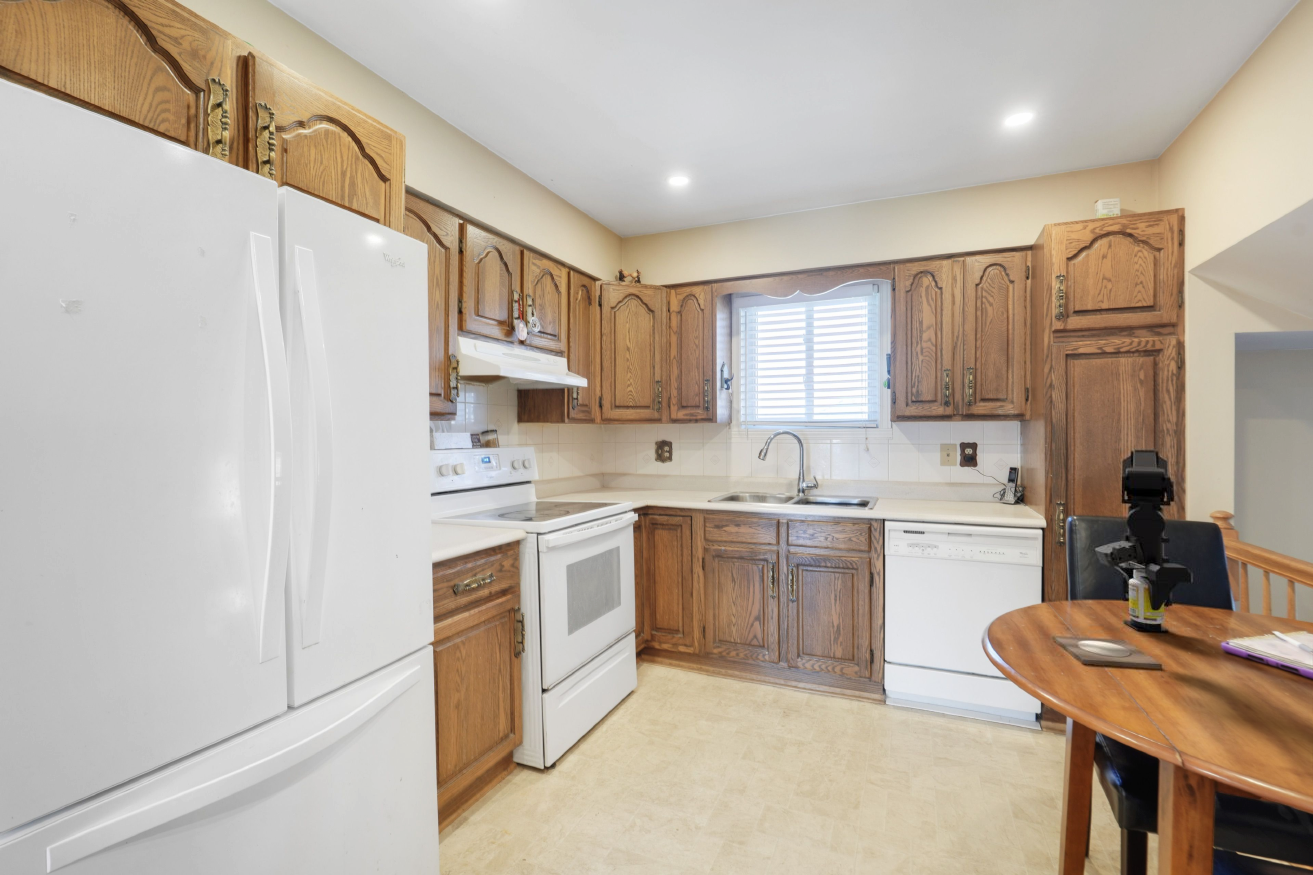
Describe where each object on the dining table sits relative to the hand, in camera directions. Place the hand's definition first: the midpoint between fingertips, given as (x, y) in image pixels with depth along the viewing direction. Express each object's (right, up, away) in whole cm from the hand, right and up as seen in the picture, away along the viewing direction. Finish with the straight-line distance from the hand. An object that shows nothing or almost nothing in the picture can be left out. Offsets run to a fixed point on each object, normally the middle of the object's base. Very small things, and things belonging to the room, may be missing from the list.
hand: (1146, 605), depth 121 cm
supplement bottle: (0, -3, 0) cm, 3 cm away
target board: (-6, -12, +4) cm, 13 cm away
